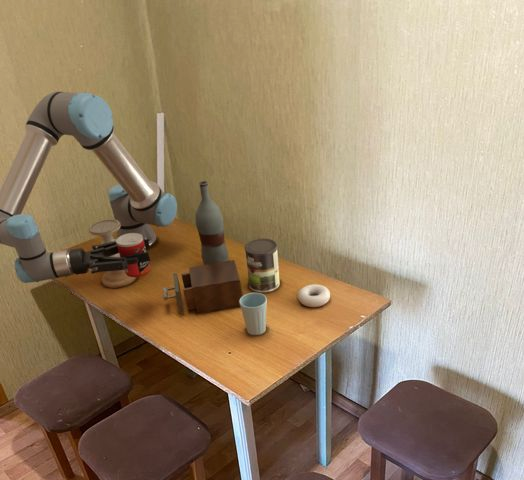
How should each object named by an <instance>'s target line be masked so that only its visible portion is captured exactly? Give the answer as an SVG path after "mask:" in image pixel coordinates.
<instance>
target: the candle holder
mask: <svg viewBox="0 0 524 480" xmlns="http://www.w3.org/2000/svg"><path fill="white" fill-rule="evenodd" d="M120 227H121V223H120V222H119V221H118V220H115V218H106V219H100V220H98V221H96V222H95V221H94V222H93V223H91V225H90V226H88V233H89V234H91V235H92V236H99V237H101V238H102V241H101V244H105V243H109V242H113V241H116V240H117V238H115V237H114V233H117V230H119V229H120ZM109 257H120V254H119V253H118V254H115V255H112V256H109ZM119 267H120V266H119ZM136 279H138V277H129V276H127V275H126V273H125V271H124V270H117V271H106V272H105V273H104V274H103V275H102V277H101V283H102V285H103V286H105V287H106V288H111V289H118V288H123V287H126V286H128V285H130V284H132V283H134V282H135V281H136Z"/></svg>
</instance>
